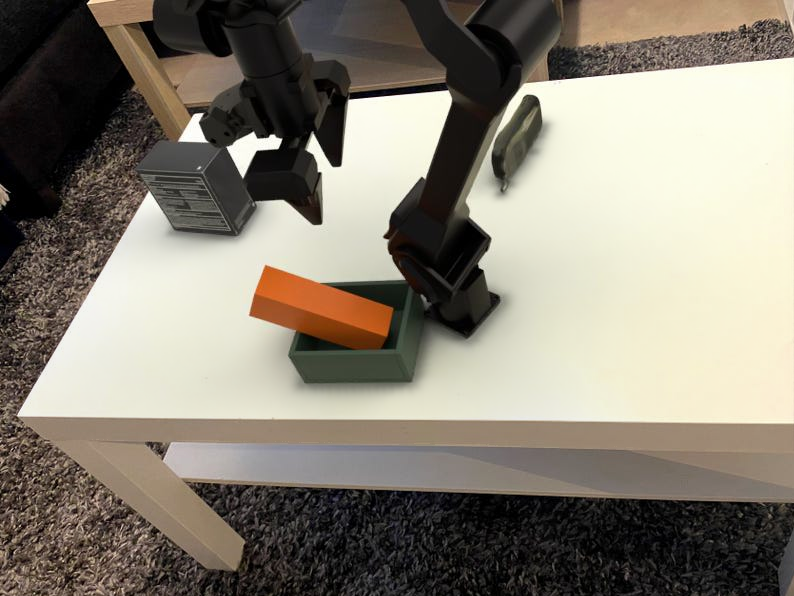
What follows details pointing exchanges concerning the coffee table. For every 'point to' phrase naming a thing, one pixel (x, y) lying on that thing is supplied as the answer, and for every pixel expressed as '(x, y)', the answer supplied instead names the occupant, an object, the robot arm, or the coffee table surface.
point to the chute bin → (350, 365)
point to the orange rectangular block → (320, 310)
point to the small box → (196, 187)
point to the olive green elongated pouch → (516, 139)
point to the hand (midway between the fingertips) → (327, 194)
